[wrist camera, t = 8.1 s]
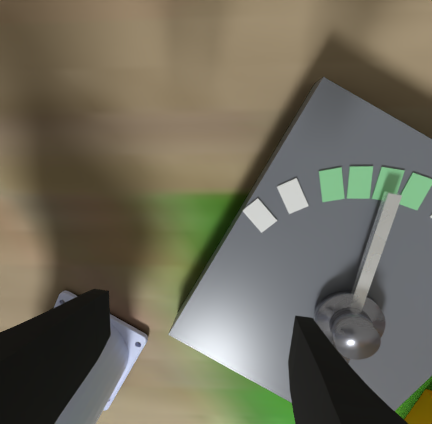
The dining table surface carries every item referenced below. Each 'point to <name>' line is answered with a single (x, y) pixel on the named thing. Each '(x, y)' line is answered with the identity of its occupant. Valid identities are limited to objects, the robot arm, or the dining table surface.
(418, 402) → the orange juice
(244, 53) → the dining table surface
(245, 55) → the dining table surface
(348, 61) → the dining table surface
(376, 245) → the dial pointer
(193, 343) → the dial plate
